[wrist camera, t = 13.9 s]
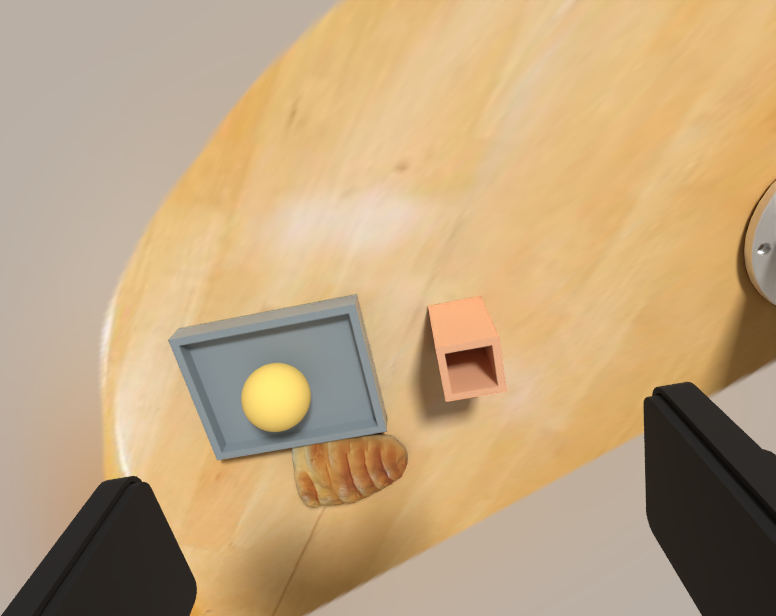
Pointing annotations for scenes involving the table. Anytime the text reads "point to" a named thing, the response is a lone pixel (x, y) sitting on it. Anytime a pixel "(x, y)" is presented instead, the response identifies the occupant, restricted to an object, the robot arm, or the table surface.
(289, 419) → the ball
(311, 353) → the tray
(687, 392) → the robot arm
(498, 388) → the open box
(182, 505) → the table surface
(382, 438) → the pastry
